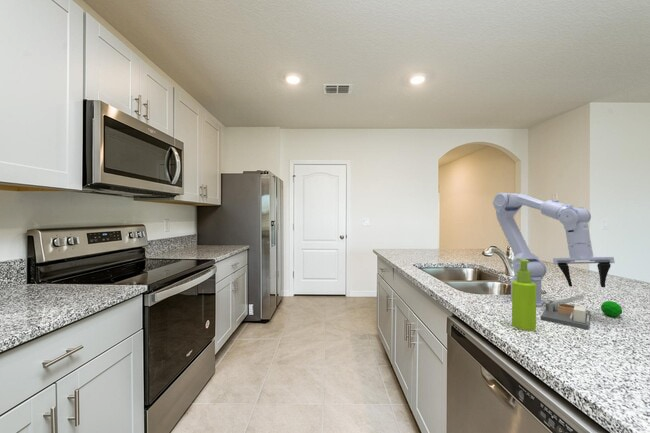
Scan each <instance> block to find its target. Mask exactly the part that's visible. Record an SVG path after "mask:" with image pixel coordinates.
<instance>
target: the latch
mask: <svg viewBox="0 0 650 433" xmlns="http://www.w3.org/2000/svg"><path fill="white" fill-rule="evenodd" d="M586 310H587V306H582V305H581V306H580V305H576V304H575V305H574V321H577V322H582V323H585V322H586Z"/></svg>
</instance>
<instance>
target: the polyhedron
mask: <svg viewBox="0 0 650 433" xmlns="http://www.w3.org/2000/svg"><path fill="white" fill-rule="evenodd" d="M600 308H601V309H600V310H601V312H602V313H603V314H604V315H606V316H608V317H610V318H616V317H620V316H621V315H622V313H623V309H622V306H621V305H620V304H619V303H617V302H616V301H612V300H607V301H604V302H603V303H601V305H600Z"/></svg>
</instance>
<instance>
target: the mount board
mask: <svg viewBox="0 0 650 433" xmlns="http://www.w3.org/2000/svg"><path fill="white" fill-rule="evenodd" d="M551 302H555V300H549V299H547V301H546V302H545V309H544V310H543V312H542V313H541V315H540V321H545V322H549V323H554V324H558V325H564V326H568V327H573V328H578V329H581V330H582V329H583V330H589V326H590V319H591V311H590V310H589V309H586V322H585V323H582V322H577V321H574V306H575V305H573V304H569V303H568V304H567V303H565V304H560V305H556V306H553V304H551Z"/></svg>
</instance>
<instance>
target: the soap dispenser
mask: <svg viewBox="0 0 650 433" xmlns="http://www.w3.org/2000/svg"><path fill="white" fill-rule="evenodd" d="M516 261H520V269H519V270H517V276H516V277H517V281H512V301H511V325H512V327H514V328H516V329H520V330H524V331H530V332H531V331H535V330H537V305H536V284H535V283H532V282H531V272H530V271H529V270H527V263H529V261H528V260H526V259H516Z"/></svg>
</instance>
